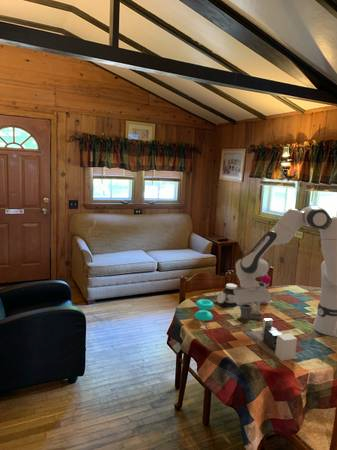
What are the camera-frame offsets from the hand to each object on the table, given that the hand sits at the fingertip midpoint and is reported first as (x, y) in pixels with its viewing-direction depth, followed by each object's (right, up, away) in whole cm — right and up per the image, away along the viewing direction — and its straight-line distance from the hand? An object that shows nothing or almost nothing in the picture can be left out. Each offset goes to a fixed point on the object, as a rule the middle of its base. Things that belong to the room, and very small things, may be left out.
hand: (257, 311), depth 181 cm
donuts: (-27, -8, +15) cm, 32 cm away
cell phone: (-20, -11, +4) cm, 23 cm away
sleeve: (+4, -14, -13) cm, 19 cm away
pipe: (0, -9, +18) cm, 20 cm away
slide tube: (+5, -13, -15) cm, 21 cm away
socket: (+7, -16, -22) cm, 28 cm away
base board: (+4, -14, -11) cm, 19 cm away
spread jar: (-9, -5, +39) cm, 40 cm away
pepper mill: (+15, -5, +43) cm, 45 cm away
